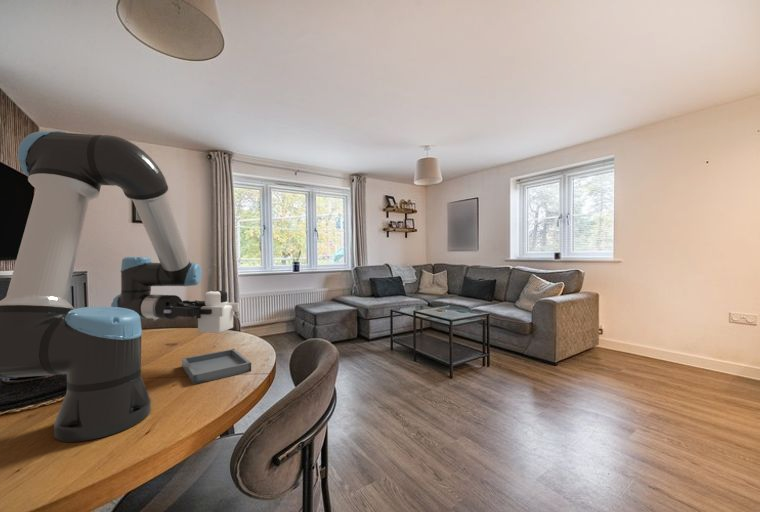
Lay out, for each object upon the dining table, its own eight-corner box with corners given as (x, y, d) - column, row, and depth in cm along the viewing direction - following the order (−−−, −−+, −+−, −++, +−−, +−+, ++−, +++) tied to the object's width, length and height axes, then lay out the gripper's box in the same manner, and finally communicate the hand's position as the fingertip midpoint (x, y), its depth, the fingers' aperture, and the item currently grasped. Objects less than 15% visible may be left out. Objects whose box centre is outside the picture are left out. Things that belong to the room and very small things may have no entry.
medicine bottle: (212, 326, 100) (213, 289, 100) (233, 327, 100) (234, 290, 99) (197, 332, 93) (197, 292, 93) (219, 333, 92) (219, 292, 92)
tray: (251, 371, 93) (251, 362, 93) (193, 384, 83) (193, 375, 83) (233, 356, 106) (233, 348, 106) (181, 366, 96) (181, 358, 96)
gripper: (186, 312, 109) (248, 315, 106) (134, 326, 89) (209, 329, 86) (187, 291, 109) (249, 293, 106) (134, 299, 89) (209, 302, 86)
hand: (231, 309), depth 96 cm, fingers closed on medicine bottle, 7 cm apart
